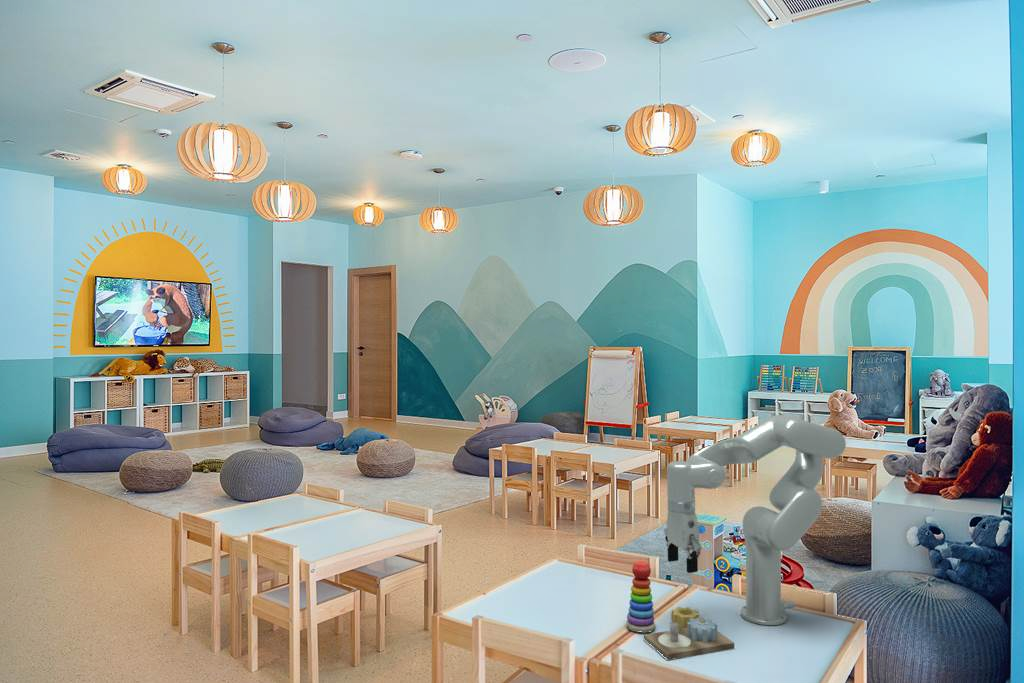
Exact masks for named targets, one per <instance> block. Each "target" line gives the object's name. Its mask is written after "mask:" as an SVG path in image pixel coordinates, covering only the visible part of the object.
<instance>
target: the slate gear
mask: <svg viewBox="0 0 1024 683" xmlns="http://www.w3.org/2000/svg"><path fill="white" fill-rule="evenodd" d="M699 618H702V617H700V616H699V617H697V619H692V618H691V619H689V622H687V635H688V637H691V638H692V640H694V641H701V642H703V643H707V642H709V641H713V642H714V641H716V638H717V631H718V623H717V622H713V620H712V619H710V618H705V619H706V623H699V622H698V619H699Z"/></svg>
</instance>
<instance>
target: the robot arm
mask: <svg viewBox="0 0 1024 683" xmlns="http://www.w3.org/2000/svg"><path fill="white" fill-rule="evenodd" d="M846 443H847V442H846V438H845V437H844V435H843V433H842V432H840V431H839V430H837V429H835V428H831V427H828V426H824V425H821V424H818V423H817V424H816V423H813V422H810V421H808V420H805V419H801V418H797V417H794V416H793V417H792V416H788V415H784V414H776V415H774V416H770V417H769V418H767V419H765V420H764V421H762V422H759V423H758V424H757V425H755V426H753V427H751V428H749V429H748V430H747V431H745V432H743V433H741V434H739V435H737V436H734V437H731V438H727V439H725V440H721V441H718V442H715V443H713V444H710V445H708V446H706V447H704V448H702V449H700V450H698V451H697V452H695V453H693V454H692V455H690V456H689V457H687V459H686V460H685V461H683V460H677V461H676V460H675V461H670V462H669V463H668V464H667V467H666V486H667V488H666V489H667V491H666V492H667V493H666V494H667V519H666V527H665V528H664V529H663V532H664V535H665V537H664V538H665V541H666V545H665V546H666V547H667V561H668V563H669V562H671V563H672V562H677V561H679V549H682V550H683V551H684V550H685V553H686V556H687V557H686V572H687V573H688V574H692V573H697V572H698V571H699V569H698V568H699V566H698V565H699V564H698V563H699V562H698V561H699V560H698V558H699V556H700V554H701V550H702V544H700V531H699V530H700V529H699V523H698V518H697V517H698V516H697V513H696V489H711V490H712V489H716V488H719V487H720V486H722V485H723V484H724V482H725V478H726V473H725V470H724V468H723V467H726V466H729V465H730V466H731V465H741V464H742V465H743V464H744V465H745V464H752V463H756V462H757V461H760V460H761V459H762V458H764V457H766V456H768V455H769V454H771V453H773V452H774V451H776V450H778V449H779V448H782V447H788V448H791V449H794V450H795V456H794V457H795V458H794V462H793V463H792V465H791V466H790V467H789V468H788V469H787V471H786V473H784V475H782V476H781V478H780V479H779V481H777V482H776V483H775V485H774V486H773V487H772V489H771V490H770V493H769V498H768V499H769V502H770V504H771V506H773V507H774V508H775V509H776V510H778V511H779V512H776V511H775V510H772V509H771V508H768V507H765V506H759V505H758V506H753V507H751V508H748V510H747V511H746V512H745V513H744V516H743V519H742V531H743V537H744V544H745V605H744V606H742V607H741V608H740V615H741V617H742V618H743V619H744V620H746V621H748V622H751V623H752V624H753V623H754V624H757V625H761V626H762V625H764V626H779V625H783V624H784V623H785V622H787V618H788V616H787V613H786V612H785V611H786V610H787V609H793V608H794V609H795V607H796V604H795V602H794V601H793V600H789V601H785V599H783V598H782V584H781V583H782V569H781V568H782V556H781V552H783V551H784V552H785V551H788V550H789V549H790V550H791V548H793V547H794V546H795V545H796V544H797V543H798V542H799V541H800V540H801V539H802V538H803V536H804V535H805V533H807V531H808V530H809V529H810V528H811V527H812V526H813V524H814V523H815V522H816V521H817V519H818V517H819V516H820V514H821V511H822V508H823V501H822V497H821V495H820V494H819V492H818V491H817V490H816V489H815V488H816V487H817V486H818V484H819V483H820V481H821V480H822V478H823V474H824V468H825V467H824V458H825V459H835V458H838V457H840V456H841V455H842V454H843V453H844V452H845V449H846V447H847V446H846V445H847V444H846Z"/></svg>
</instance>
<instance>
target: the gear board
mask: <svg viewBox="0 0 1024 683" xmlns="http://www.w3.org/2000/svg"><path fill="white" fill-rule="evenodd" d="M706 619H707V618H705V617H701V618H699V619H698V622H699V623H706ZM669 626H670V630H663V631H660V632H659V631H658V632H651V633H647V634H646V633H645V634H643V640H644V639H645V640H646V641H647V642H648V643H649V644H651V645H652V646H653V647H654V648H655V649H656V650H658V651H659V652H660V653H661V654H663V656H664V657H666V658H667V659H673V658H678V659H684V658H688V657H694V656H701V655H705V654H711V653H712V654H713V653H716V652H722V651H728V650H733V649H735V641H732V639H730V638H728V637H727V636H725V635H724V634H722V633H721V632H719V631H718V630H717V638H716V641H714V642H713V641H709V642H707V643H703V642H701V641H694V640H692V638H691V637H688V635H687V628H682V629H680V628H678V624H677V623H672V622H670V625H669ZM649 644H648V645H649ZM664 657H663V658H664ZM673 660H674V659H673Z"/></svg>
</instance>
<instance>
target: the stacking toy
mask: <svg viewBox="0 0 1024 683" xmlns="http://www.w3.org/2000/svg"><path fill="white" fill-rule="evenodd" d="M631 571H632V574H633V576H634V578H633V579H632V586H631V587H630V591H631V593H630V596H629V597H630V600H629V607H628V612H627V615H626V618H627V621H626V627H627V628H628V629H629V630H630V631H632V632H634V631H642V632H649V631H651V632H653V631H654V630H656V623H655V617H654V616H655V615H654V613H655V609H654V607H653V606H654V603H653V601H652V599H653V594H652V588H651V587H650V585H651V580H650V578H649V577H650V575H651V571H652V569H651V566H650V564H649V563H648V562H646V561H643V560H638V561H636V562H634V564H633V565H632V570H631ZM649 633H650V632H649Z"/></svg>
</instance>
